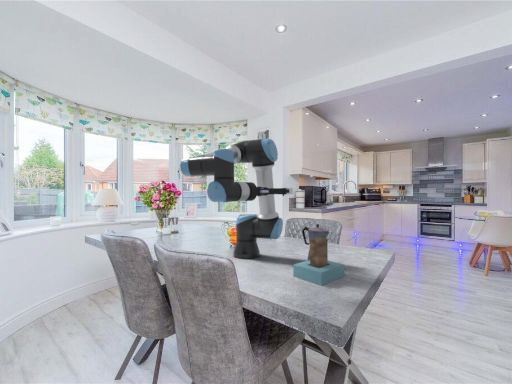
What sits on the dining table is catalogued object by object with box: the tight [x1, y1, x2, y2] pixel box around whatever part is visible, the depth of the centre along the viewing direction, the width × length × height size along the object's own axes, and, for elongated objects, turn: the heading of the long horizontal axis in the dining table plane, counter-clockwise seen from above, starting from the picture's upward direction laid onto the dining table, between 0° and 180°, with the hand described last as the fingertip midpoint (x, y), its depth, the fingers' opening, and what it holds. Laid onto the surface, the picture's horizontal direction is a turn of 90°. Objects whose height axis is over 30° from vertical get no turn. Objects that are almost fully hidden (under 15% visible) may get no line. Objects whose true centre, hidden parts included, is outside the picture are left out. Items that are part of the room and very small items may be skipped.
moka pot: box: [301, 223, 330, 261], centre depth 124 cm, size 10×15×20 cm, turn 53°
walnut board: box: [309, 237, 329, 268], centre depth 104 cm, size 4×7×15 cm, turn 131°
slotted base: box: [292, 260, 345, 286], centre depth 104 cm, size 14×17×5 cm
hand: (280, 191), depth 111 cm, fingers open, 13 cm apart
